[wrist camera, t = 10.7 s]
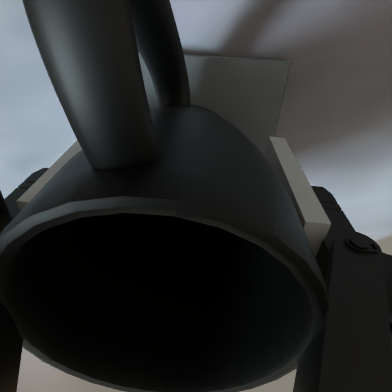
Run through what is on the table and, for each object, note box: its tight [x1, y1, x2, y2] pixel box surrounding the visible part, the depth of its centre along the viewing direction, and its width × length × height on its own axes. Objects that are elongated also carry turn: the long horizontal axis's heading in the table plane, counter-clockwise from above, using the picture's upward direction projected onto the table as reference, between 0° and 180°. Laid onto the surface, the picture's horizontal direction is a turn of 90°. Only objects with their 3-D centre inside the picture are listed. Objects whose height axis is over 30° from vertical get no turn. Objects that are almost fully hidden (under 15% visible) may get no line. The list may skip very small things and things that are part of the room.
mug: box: [0, 0, 329, 392], centre depth 10 cm, size 8×12×10 cm
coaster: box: [138, 51, 290, 156], centre depth 16 cm, size 9×9×1 cm
